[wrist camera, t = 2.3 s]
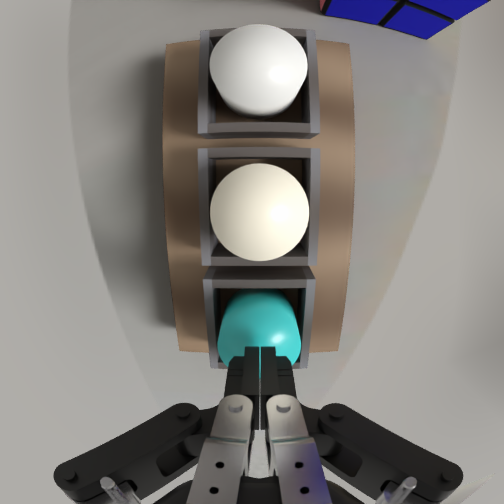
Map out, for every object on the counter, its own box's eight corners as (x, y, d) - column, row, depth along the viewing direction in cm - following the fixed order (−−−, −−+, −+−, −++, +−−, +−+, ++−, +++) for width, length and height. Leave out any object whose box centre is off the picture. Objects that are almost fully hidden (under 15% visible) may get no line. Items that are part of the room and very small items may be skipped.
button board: (177, 58, 18) (151, 26, 12) (337, 58, 17) (363, 25, 12) (187, 331, 24) (169, 375, 18) (329, 331, 23) (347, 375, 18)
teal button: (222, 284, 17) (214, 310, 14) (295, 284, 17) (303, 311, 14) (225, 344, 19) (220, 378, 15) (292, 344, 19) (297, 377, 15)
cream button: (219, 165, 16) (208, 164, 12) (298, 165, 15) (309, 164, 12) (221, 242, 17) (211, 261, 13) (297, 242, 17) (307, 260, 13)
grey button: (219, 52, 14) (210, 26, 10) (296, 51, 14) (305, 26, 10) (219, 120, 15) (208, 107, 11) (298, 120, 15) (309, 107, 11)
